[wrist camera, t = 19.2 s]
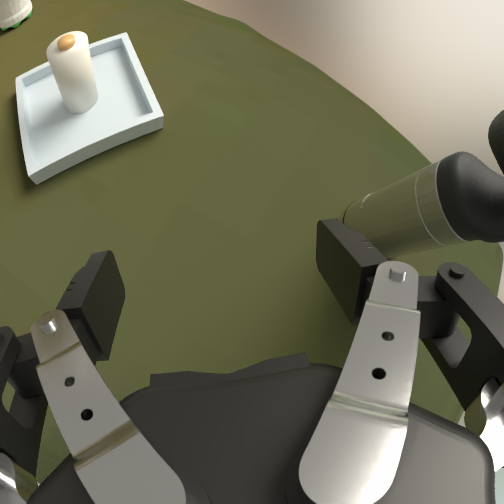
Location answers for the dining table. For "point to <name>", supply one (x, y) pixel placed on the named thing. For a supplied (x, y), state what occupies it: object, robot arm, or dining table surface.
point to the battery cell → (73, 71)
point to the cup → (14, 12)
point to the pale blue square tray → (91, 122)
